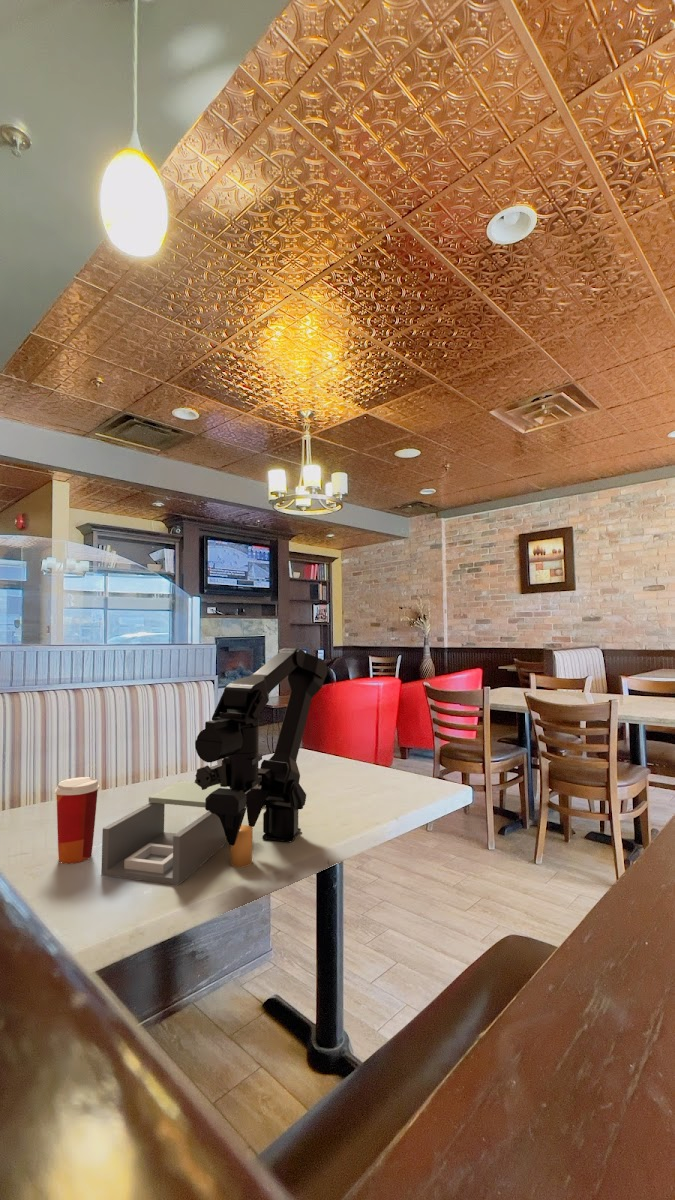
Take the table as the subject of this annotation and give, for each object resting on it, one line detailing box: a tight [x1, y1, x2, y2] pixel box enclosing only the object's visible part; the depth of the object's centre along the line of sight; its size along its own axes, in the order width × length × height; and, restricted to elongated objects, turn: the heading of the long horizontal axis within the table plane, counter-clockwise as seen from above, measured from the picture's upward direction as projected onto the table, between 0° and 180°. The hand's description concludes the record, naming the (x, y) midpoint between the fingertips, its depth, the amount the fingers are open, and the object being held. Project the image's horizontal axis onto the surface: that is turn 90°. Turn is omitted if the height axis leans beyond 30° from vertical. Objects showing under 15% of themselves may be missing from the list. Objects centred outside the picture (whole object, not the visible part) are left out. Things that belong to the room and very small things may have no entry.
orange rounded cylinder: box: [229, 824, 254, 868], centre depth 100 cm, size 4×4×6 cm
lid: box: [148, 780, 230, 808], centre depth 113 cm, size 15×13×3 cm
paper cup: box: [54, 776, 100, 865], centre depth 102 cm, size 8×8×14 cm
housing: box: [100, 802, 226, 886], centre depth 101 cm, size 15×18×8 cm
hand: (242, 835), depth 100 cm, fingers open, 9 cm apart
